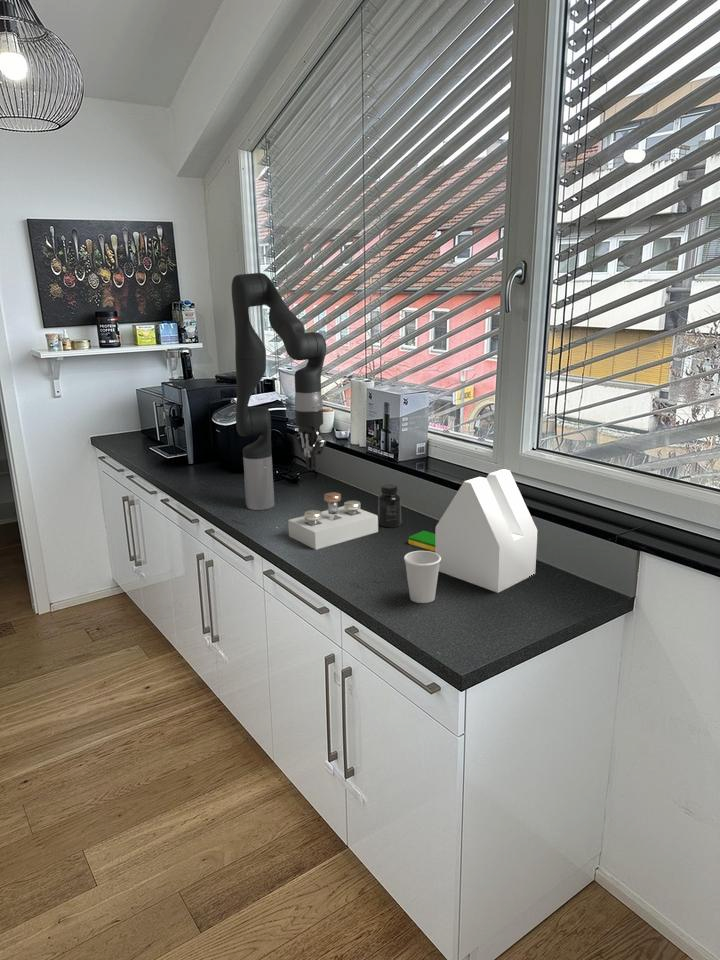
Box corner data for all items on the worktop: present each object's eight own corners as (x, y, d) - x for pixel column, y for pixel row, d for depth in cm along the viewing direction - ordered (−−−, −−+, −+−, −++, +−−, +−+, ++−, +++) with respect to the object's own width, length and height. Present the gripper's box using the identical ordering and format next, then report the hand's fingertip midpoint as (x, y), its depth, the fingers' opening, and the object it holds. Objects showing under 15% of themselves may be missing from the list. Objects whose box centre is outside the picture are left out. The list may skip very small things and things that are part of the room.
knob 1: (301, 530, 193) (300, 512, 191) (315, 527, 195) (315, 509, 194) (311, 535, 189) (310, 516, 187) (325, 531, 192) (324, 513, 190)
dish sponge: (448, 557, 179) (448, 548, 179) (407, 545, 188) (407, 536, 188) (463, 549, 184) (463, 541, 184) (423, 538, 193) (423, 530, 193)
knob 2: (341, 520, 201) (340, 502, 199) (354, 516, 204) (353, 499, 202) (351, 524, 197) (350, 506, 196) (364, 520, 200) (363, 503, 198)
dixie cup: (419, 586, 160) (419, 547, 158) (447, 597, 155) (448, 556, 152) (396, 598, 155) (396, 557, 152) (425, 609, 149) (425, 567, 146)
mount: (289, 536, 196) (288, 519, 195) (349, 520, 209) (349, 504, 207) (315, 549, 185) (315, 532, 184) (378, 531, 198) (377, 515, 197)
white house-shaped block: (435, 570, 170) (436, 474, 163) (473, 553, 180) (475, 463, 173) (497, 593, 157) (501, 490, 150) (535, 574, 167) (540, 476, 160)
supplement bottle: (404, 522, 206) (404, 484, 203) (396, 529, 200) (395, 490, 197) (383, 519, 209) (383, 482, 205) (374, 526, 203) (374, 488, 199)
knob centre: (321, 512, 196) (320, 494, 194) (335, 509, 198) (334, 491, 197) (331, 516, 192) (330, 498, 190) (344, 513, 195) (344, 494, 193)
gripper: (284, 406, 185) (287, 467, 190) (310, 412, 175) (313, 476, 180) (307, 403, 190) (309, 462, 195) (334, 409, 180) (336, 471, 184)
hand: (311, 469), depth 187 cm, fingers closed
